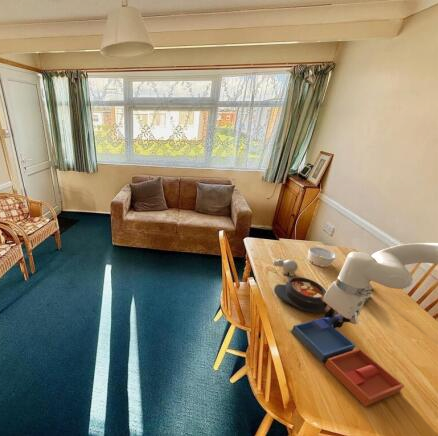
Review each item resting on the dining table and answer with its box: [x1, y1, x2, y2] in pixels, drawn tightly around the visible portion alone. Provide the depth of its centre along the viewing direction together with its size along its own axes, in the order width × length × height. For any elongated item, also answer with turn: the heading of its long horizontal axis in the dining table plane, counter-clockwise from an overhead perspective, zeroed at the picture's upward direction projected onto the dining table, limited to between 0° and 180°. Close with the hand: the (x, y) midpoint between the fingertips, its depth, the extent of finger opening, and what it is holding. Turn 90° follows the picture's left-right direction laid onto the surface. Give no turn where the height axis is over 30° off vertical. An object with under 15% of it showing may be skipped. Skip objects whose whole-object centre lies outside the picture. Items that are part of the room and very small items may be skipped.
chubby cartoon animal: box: [273, 257, 299, 278], centre depth 129 cm, size 7×12×8 cm, turn 51°
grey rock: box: [364, 289, 372, 304], centre depth 112 cm, size 11×8×4 cm
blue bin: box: [291, 317, 356, 363], centre depth 90 cm, size 13×15×4 cm
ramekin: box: [307, 246, 337, 268], centre depth 139 cm, size 13×13×7 cm
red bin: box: [324, 348, 405, 407], centre depth 77 cm, size 13×15×4 cm
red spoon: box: [344, 365, 379, 386], centre depth 77 cm, size 11×4×3 cm, turn 105°
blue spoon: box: [311, 314, 340, 332], centre depth 86 cm, size 11×4×3 cm, turn 105°
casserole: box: [273, 276, 336, 314], centre depth 109 cm, size 25×19×8 cm
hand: (331, 322), depth 87 cm, fingers closed on blue spoon, 3 cm apart
